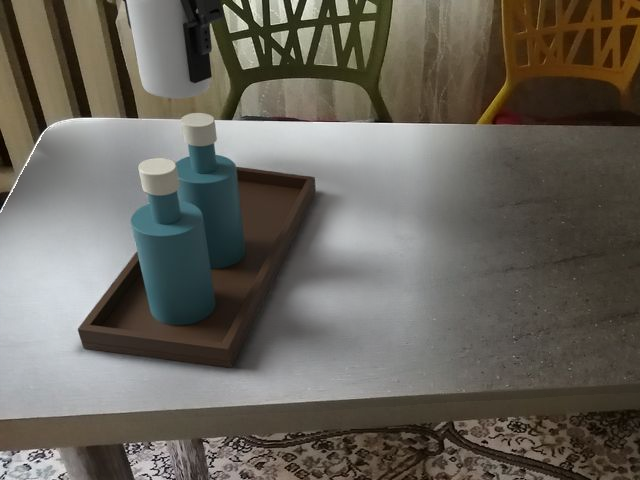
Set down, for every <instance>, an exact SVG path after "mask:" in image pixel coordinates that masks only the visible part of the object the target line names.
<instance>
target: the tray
mask: <svg viewBox="0 0 640 480" xmlns="http://www.w3.org/2000/svg"><path fill="white" fill-rule="evenodd" d="M236 169H237V178H238V187H239V196H240V206H241V215H242V224H243V233H244V242H245V255H244V257H243V258H242V259H241V260H240V261H239V262H238V263H236V264H234V265H232V266H229V267H225V268H218V269H211V275H212V282H213V288H214V295H215V302H216V305H215V308H214V310H213V312H212V313H211V314H210V315H209V316H208V317H207V318H205V319H203V320H201V321H199V322H197V323H193V324H189V325H168V324H165V323H162V322H160V321H158V320H157V319H155V318H154V317H153V315H152V314H151V311H150V306H149V302H148V297H147V293H146V288H145V284H144V280H143V275H142V271H141V266H140V262H139V257H138V253H137V251H136V252H135V253H134V254H133V256H132V257H131V258H130V260H129V261H128V262H127V264H126V265H124V267H123V269H122V270H121V271H120V272H119V274H118V275H117V277H115V279H114V280H113V282H112V284H110V286H109V287H108V288H107V290H106V291H105V292H104V294H103V295H102V296H101V298H100V299H99V300H98V301H97V303H96V304H95V305H94V306H93V308H92V310H91V311H90V312H89V313H88V314H87V316H86V317H85V319H84V320H83V321H82V322H81V324H80V325H79V327H78V328H77V332H78V335H79V338H80V341H81V346H82V348H83V349H86V350H92V351H93V350H95V351H102V352H110V353H116V354H124V355H125V354H126V355H131V356H132V355H133V356H140V357H146V358H154V359H162V360H170V361H177V362H178V361H179V362H183V363H184V362H185V363H193V364H200V365H206V366H207V365H208V366H215V367H223V368H230V369H231V368H232V366H233V365H234V363H235V360H236V359H237V356H238V354H239V352H240V350H241V348H242V346H243V344H244V342H245V339H246V338H247V335H248V333H249V332H250V329H251V327H252V325H253V323H254V321H255V320H256V317H257V315H258V313H259V311H260V309H261V307H262V304H263V303H264V300H265V299H266V296H267V294H268V293H269V290H270V289H271V286H272V285H273V282H274V281H275V278H276V276H277V274H278V272H279V269H280V268H281V266H282V263H283V262H284V259H285V257H286V255H287V254H288V252H289V249H290V247H291V244H292V243H293V241H294V239H295V237H296V235H297V233H298V231H299V228H300V226H301V224H302V222H303V220H304V218H305V216H306V214H307V212H308V210H309V208H310V206H311V204H312V202H313V199H314V197H315V196H316V177H315V176H310V175H304V174H303V175H302V174H295V173H287V172H280V171H272V170H266V169H258V168H251V167H244V166H243V167H242V166H236Z"/></svg>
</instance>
